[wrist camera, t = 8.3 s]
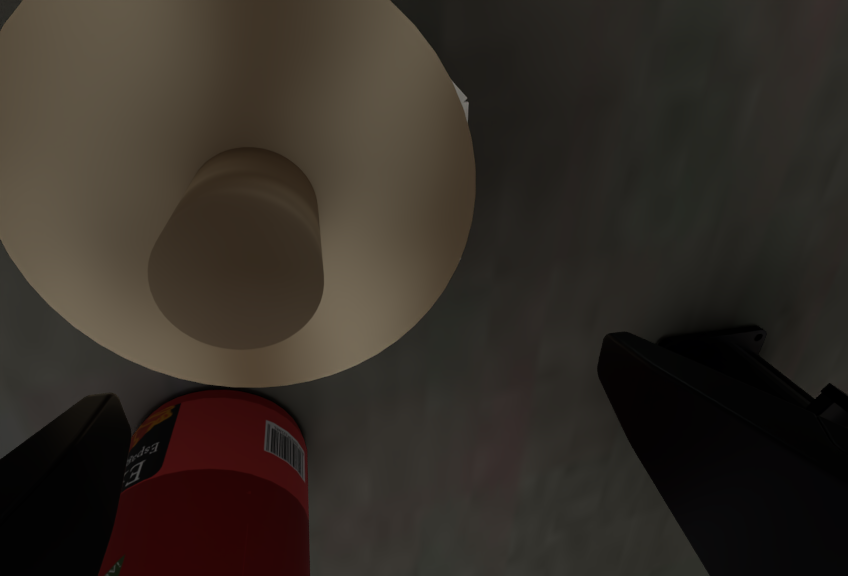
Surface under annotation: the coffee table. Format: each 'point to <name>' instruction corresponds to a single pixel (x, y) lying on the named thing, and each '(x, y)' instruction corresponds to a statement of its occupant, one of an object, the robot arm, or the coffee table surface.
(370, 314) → the lid
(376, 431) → the coffee table surface
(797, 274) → the coffee table surface
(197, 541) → the canned food
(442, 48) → the coffee table surface
